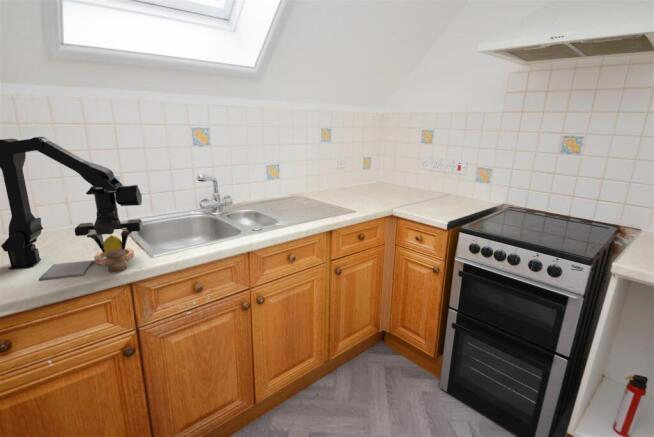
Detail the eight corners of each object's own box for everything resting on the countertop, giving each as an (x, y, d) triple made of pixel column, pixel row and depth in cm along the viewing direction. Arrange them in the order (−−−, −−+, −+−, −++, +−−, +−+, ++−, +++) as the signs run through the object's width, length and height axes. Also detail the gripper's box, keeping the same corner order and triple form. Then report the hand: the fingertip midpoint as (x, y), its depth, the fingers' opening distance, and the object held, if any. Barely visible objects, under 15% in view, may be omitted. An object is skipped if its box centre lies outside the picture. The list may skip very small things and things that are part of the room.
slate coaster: (39, 280, 103) (38, 278, 103) (53, 265, 113) (53, 264, 113) (82, 275, 107) (82, 273, 106) (93, 261, 117) (92, 260, 116)
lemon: (127, 254, 123) (124, 232, 121) (119, 260, 118) (115, 238, 116) (111, 254, 123) (107, 233, 121) (102, 260, 118) (98, 238, 115)
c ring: (91, 265, 113) (90, 261, 113) (100, 253, 124) (99, 249, 123) (130, 261, 117) (130, 257, 117) (136, 250, 127) (135, 246, 127)
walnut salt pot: (106, 273, 108) (103, 256, 106) (110, 267, 113) (107, 250, 111) (125, 271, 110) (123, 254, 108) (129, 265, 115) (126, 248, 113)
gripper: (64, 215, 105) (74, 263, 109) (134, 210, 111) (140, 256, 115) (76, 206, 115) (84, 251, 120) (139, 202, 121) (145, 245, 125)
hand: (114, 251), depth 120 cm, fingers closed on lemon, 5 cm apart
